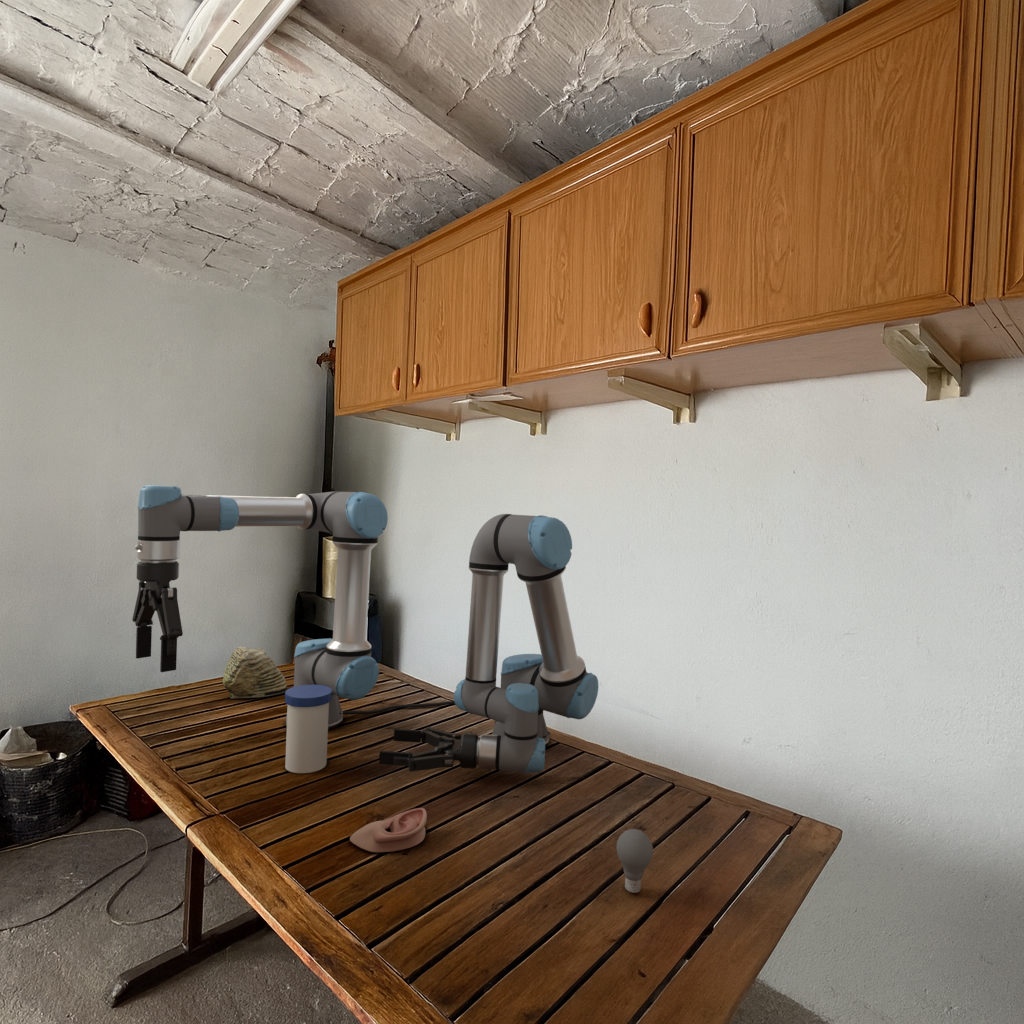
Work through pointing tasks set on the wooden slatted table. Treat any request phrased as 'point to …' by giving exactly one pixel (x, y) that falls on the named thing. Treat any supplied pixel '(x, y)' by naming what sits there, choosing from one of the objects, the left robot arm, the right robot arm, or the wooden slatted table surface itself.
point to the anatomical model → (392, 832)
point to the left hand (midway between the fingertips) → (155, 664)
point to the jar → (306, 738)
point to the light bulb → (634, 857)
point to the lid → (308, 695)
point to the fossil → (252, 674)
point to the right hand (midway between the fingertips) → (387, 745)
